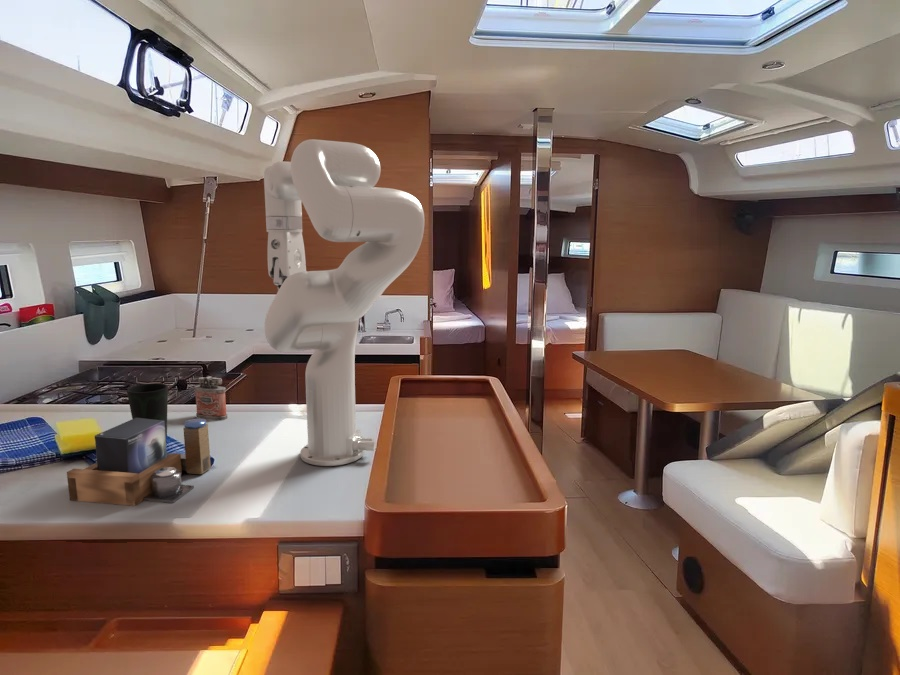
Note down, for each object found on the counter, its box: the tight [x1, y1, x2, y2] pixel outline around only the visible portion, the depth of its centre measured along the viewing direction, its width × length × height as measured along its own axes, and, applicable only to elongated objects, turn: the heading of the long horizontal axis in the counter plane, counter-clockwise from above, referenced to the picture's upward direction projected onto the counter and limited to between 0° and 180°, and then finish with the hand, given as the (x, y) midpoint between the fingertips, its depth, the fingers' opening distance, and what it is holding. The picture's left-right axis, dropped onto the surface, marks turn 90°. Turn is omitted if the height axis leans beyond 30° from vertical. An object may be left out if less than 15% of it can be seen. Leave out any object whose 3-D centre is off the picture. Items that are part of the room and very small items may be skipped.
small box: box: [94, 418, 168, 474], centre depth 106 cm, size 11×6×10 cm, turn 170°
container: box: [167, 418, 212, 475], centre depth 112 cm, size 14×4×10 cm, turn 81°
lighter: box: [193, 375, 228, 421], centre depth 143 cm, size 8×3×10 cm, turn 73°
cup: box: [126, 382, 169, 438], centre depth 126 cm, size 8×8×12 cm
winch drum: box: [142, 467, 195, 504], centre depth 102 cm, size 6×6×4 cm
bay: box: [66, 452, 183, 507], centre depth 105 cm, size 12×13×5 cm
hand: (288, 309), depth 133 cm, fingers closed
